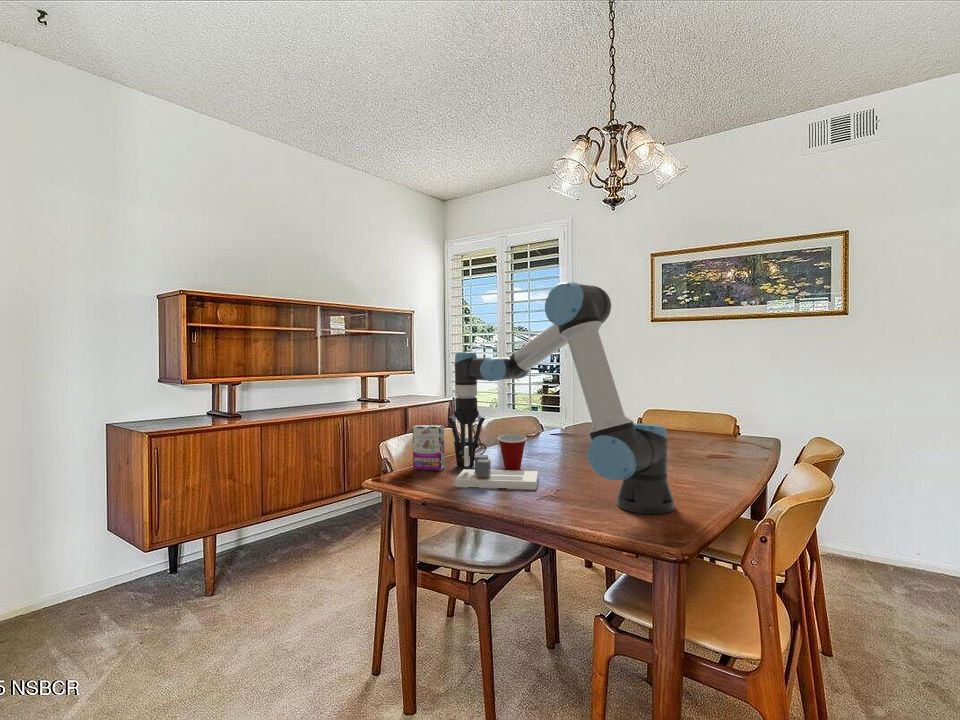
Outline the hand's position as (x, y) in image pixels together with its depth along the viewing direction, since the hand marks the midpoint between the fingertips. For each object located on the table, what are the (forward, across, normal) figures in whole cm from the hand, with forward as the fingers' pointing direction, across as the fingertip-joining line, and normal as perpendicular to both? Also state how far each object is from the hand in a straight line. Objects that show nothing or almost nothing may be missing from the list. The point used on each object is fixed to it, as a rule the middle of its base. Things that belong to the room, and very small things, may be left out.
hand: (467, 465), depth 171 cm
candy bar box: (+5, +17, -13) cm, 22 cm away
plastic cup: (+5, -14, -17) cm, 22 cm away
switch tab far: (+2, -5, 0) cm, 5 cm away
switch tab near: (+2, -7, +7) cm, 10 cm away
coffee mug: (+5, +3, -19) cm, 19 cm away
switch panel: (+5, -11, +3) cm, 12 cm away
